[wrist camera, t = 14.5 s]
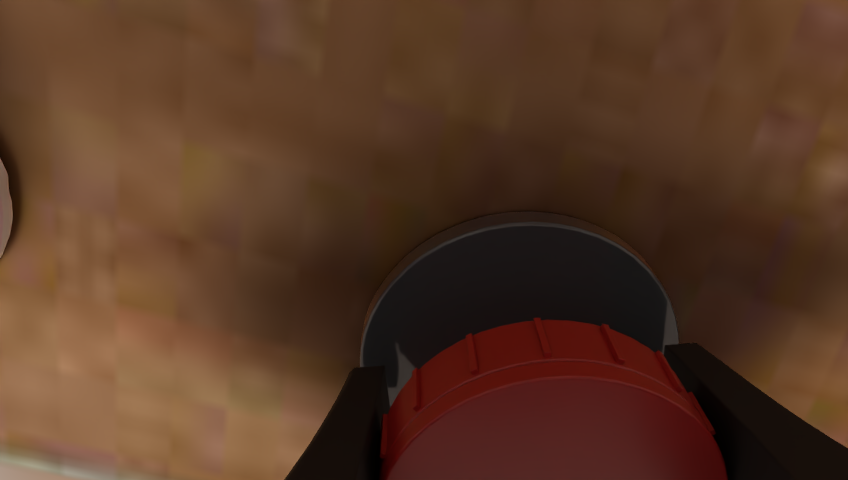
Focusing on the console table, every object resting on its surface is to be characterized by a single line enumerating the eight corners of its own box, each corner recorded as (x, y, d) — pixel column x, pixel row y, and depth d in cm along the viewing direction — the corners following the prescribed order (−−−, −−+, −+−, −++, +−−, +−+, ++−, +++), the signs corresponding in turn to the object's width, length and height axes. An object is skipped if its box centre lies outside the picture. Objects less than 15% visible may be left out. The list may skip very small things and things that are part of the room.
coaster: (318, 415, 15) (314, 433, 14) (436, 158, 12) (437, 170, 12) (574, 495, 16) (579, 515, 16) (733, 279, 13) (746, 294, 13)
